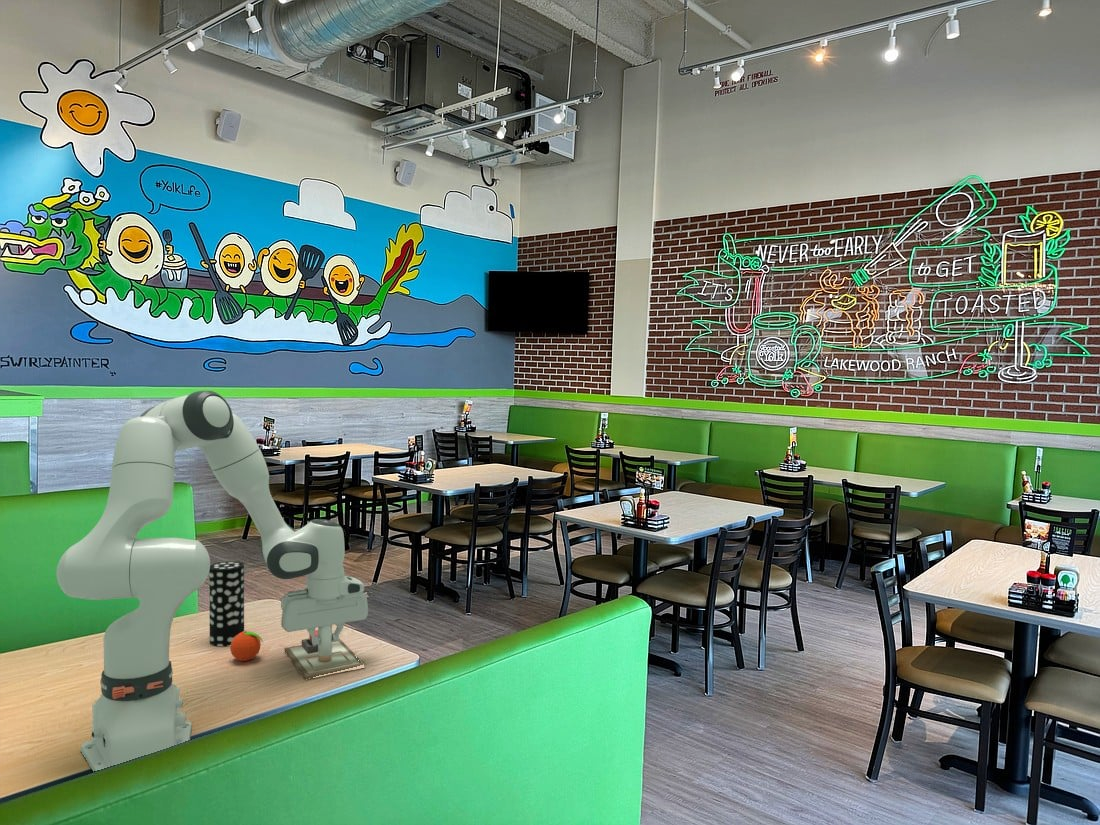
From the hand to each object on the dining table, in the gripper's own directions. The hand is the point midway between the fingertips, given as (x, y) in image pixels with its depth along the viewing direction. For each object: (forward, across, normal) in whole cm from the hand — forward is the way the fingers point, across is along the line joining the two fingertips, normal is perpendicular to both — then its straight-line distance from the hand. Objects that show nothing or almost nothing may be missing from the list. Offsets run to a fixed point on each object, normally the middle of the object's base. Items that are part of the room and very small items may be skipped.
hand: (325, 642), depth 185 cm
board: (+6, +1, +3) cm, 6 cm away
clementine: (+6, -15, +12) cm, 21 cm away
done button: (+2, +1, +9) cm, 10 cm away
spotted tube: (+6, -17, +28) cm, 34 cm away
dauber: (+4, 0, 0) cm, 4 cm away
